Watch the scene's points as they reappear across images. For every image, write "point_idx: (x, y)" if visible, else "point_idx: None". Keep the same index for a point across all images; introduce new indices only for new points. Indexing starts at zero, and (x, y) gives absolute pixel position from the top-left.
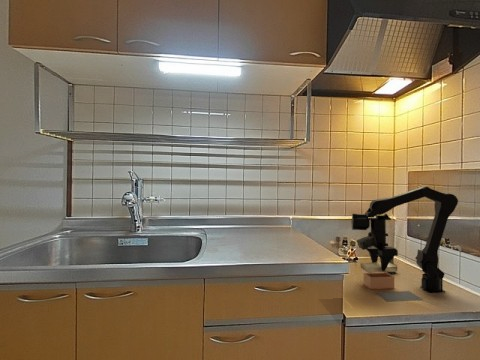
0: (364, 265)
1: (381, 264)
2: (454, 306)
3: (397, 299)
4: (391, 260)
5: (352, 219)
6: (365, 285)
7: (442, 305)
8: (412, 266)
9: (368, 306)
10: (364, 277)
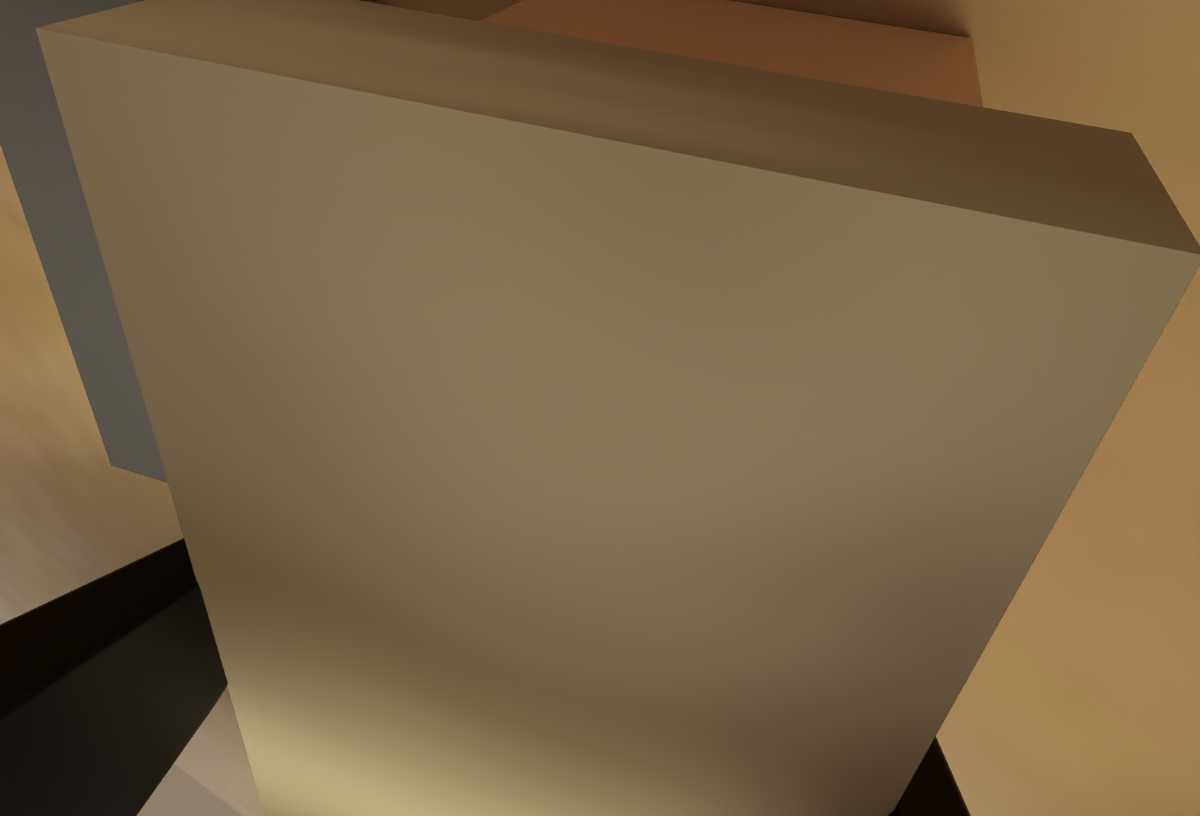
0: (539, 124)
1: (32, 646)
2: (44, 578)
3: (58, 154)
4: None
5: None
6: (853, 26)
7: (42, 515)
8: None
9: None
10: (901, 92)
